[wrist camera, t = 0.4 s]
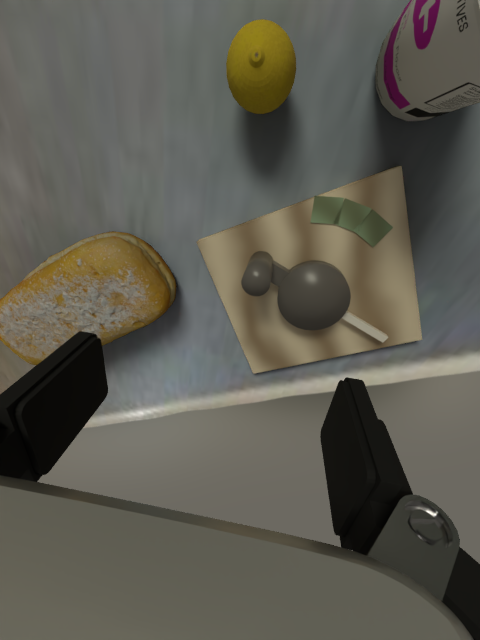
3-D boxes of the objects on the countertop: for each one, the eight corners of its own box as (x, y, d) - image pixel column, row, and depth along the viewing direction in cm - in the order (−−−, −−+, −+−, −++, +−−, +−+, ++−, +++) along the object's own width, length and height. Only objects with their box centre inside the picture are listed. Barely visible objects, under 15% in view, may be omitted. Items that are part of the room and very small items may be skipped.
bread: (6, 294, 43) (-48, 318, 36) (131, 201, 34) (90, 210, 27) (69, 360, 48) (31, 393, 41) (194, 294, 38) (173, 323, 31)
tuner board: (397, 163, 28) (401, 163, 27) (418, 334, 36) (422, 340, 35) (198, 237, 34) (195, 240, 33) (254, 368, 42) (253, 374, 41)
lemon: (282, 127, 28) (279, 115, 21) (228, 108, 28) (208, 89, 21) (305, 55, 25) (311, 14, 18) (245, 34, 25) (229, -17, 18)
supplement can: (353, 92, 26) (418, 17, 13) (424, -30, 22) (623, -318, 9) (425, 140, 27) (555, 117, 14) (506, 32, 23) (797, -146, 10)
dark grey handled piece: (408, 312, 33) (432, 342, 27) (361, 358, 37) (373, 392, 31) (269, 225, 31) (265, 238, 25) (234, 284, 35) (224, 307, 29)
